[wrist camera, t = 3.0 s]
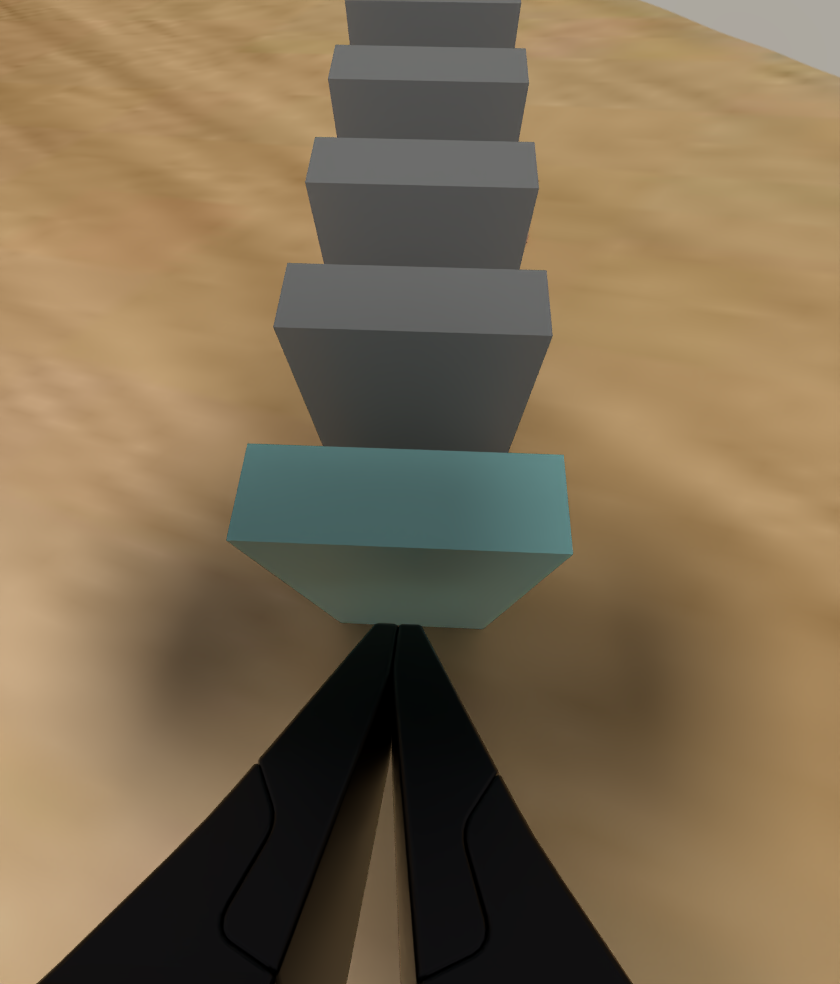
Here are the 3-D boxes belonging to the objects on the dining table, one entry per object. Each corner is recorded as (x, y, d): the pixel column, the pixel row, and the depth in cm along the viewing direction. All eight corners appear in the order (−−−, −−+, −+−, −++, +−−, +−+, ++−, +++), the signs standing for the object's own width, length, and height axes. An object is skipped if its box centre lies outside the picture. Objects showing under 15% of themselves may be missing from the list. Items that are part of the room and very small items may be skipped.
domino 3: (480, 431, 19) (538, 188, 9) (361, 426, 19) (305, 182, 10) (480, 399, 19) (534, 141, 10) (365, 394, 19) (315, 137, 10)
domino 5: (483, 629, 16) (573, 554, 6) (341, 622, 16) (226, 540, 6) (482, 583, 16) (563, 455, 7) (345, 577, 16) (247, 443, 7)
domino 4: (481, 520, 17) (552, 335, 8) (352, 516, 17) (273, 326, 8) (481, 482, 18) (546, 270, 9) (356, 478, 18) (287, 263, 9)
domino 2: (479, 354, 20) (528, 83, 11) (370, 351, 20) (328, 78, 11) (479, 327, 21) (525, 48, 12) (373, 324, 21) (335, 44, 12)
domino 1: (478, 289, 22) (521, 3, 13) (377, 286, 22) (345, 0, 13) (478, 265, 22) (518, -24, 13) (379, 263, 22) (350, -26, 13)
